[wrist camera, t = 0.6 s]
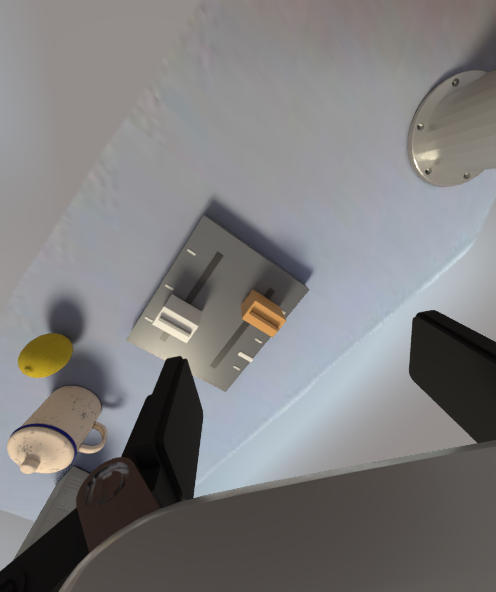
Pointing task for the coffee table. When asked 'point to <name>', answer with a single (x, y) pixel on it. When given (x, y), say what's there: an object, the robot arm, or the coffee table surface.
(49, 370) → the lemon
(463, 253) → the coffee table surface
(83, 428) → the teacup with lid
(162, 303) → the console
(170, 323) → the fader white
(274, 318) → the fader orange
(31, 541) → the skincare box
